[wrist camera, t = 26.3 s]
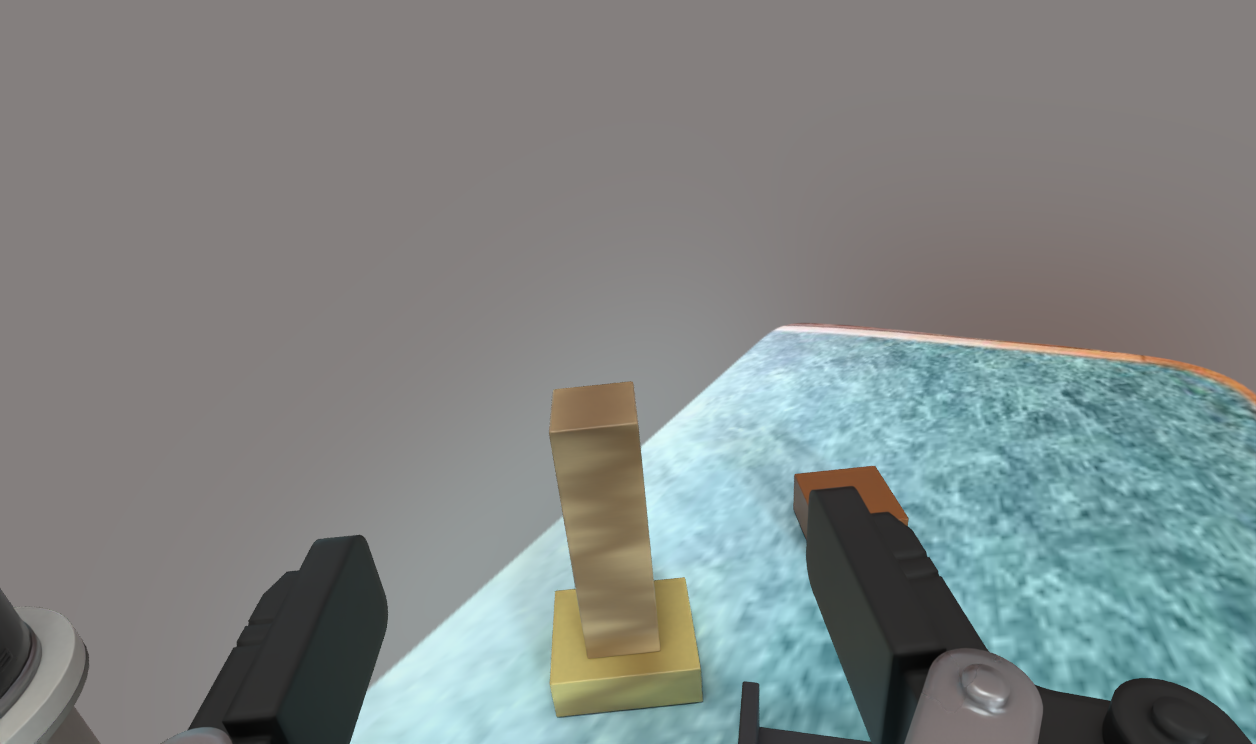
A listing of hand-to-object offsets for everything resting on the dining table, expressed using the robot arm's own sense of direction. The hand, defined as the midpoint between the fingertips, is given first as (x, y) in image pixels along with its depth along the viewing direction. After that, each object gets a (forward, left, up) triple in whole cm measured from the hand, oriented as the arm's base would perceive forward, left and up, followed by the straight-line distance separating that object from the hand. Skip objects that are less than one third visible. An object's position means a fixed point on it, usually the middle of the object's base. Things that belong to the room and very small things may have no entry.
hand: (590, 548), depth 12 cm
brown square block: (+7, +20, -17) cm, 27 cm away
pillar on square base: (-3, +11, -17) cm, 20 cm away
